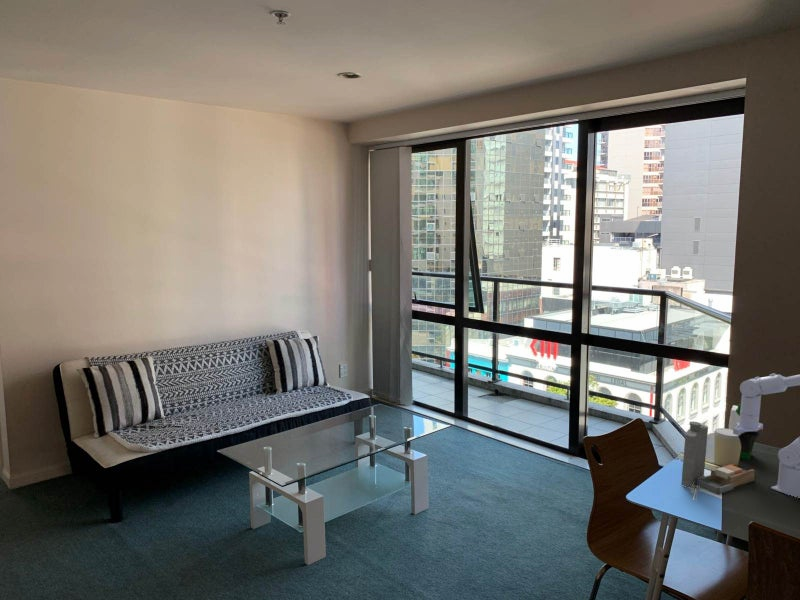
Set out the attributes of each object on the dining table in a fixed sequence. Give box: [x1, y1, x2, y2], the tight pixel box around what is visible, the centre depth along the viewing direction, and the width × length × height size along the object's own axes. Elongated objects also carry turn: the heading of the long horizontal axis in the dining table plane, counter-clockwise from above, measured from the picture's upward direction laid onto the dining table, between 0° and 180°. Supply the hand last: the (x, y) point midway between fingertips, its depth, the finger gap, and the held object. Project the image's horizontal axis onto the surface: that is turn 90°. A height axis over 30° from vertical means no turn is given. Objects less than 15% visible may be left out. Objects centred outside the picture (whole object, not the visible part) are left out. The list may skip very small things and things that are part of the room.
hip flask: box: [680, 421, 709, 488], centre depth 201 cm, size 16×4×20 cm, turn 137°
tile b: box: [715, 466, 735, 479], centre depth 199 cm, size 4×4×2 cm
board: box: [710, 463, 756, 488], centre depth 202 cm, size 7×14×4 cm, turn 120°
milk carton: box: [728, 403, 755, 460], centre depth 226 cm, size 9×9×20 cm
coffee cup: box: [713, 427, 741, 467], centre depth 216 cm, size 9×9×12 cm
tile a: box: [724, 465, 743, 475], centre depth 202 cm, size 4×4×2 cm
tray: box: [695, 474, 734, 495], centre depth 196 cm, size 8×8×2 cm
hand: (746, 451), depth 204 cm, fingers closed
